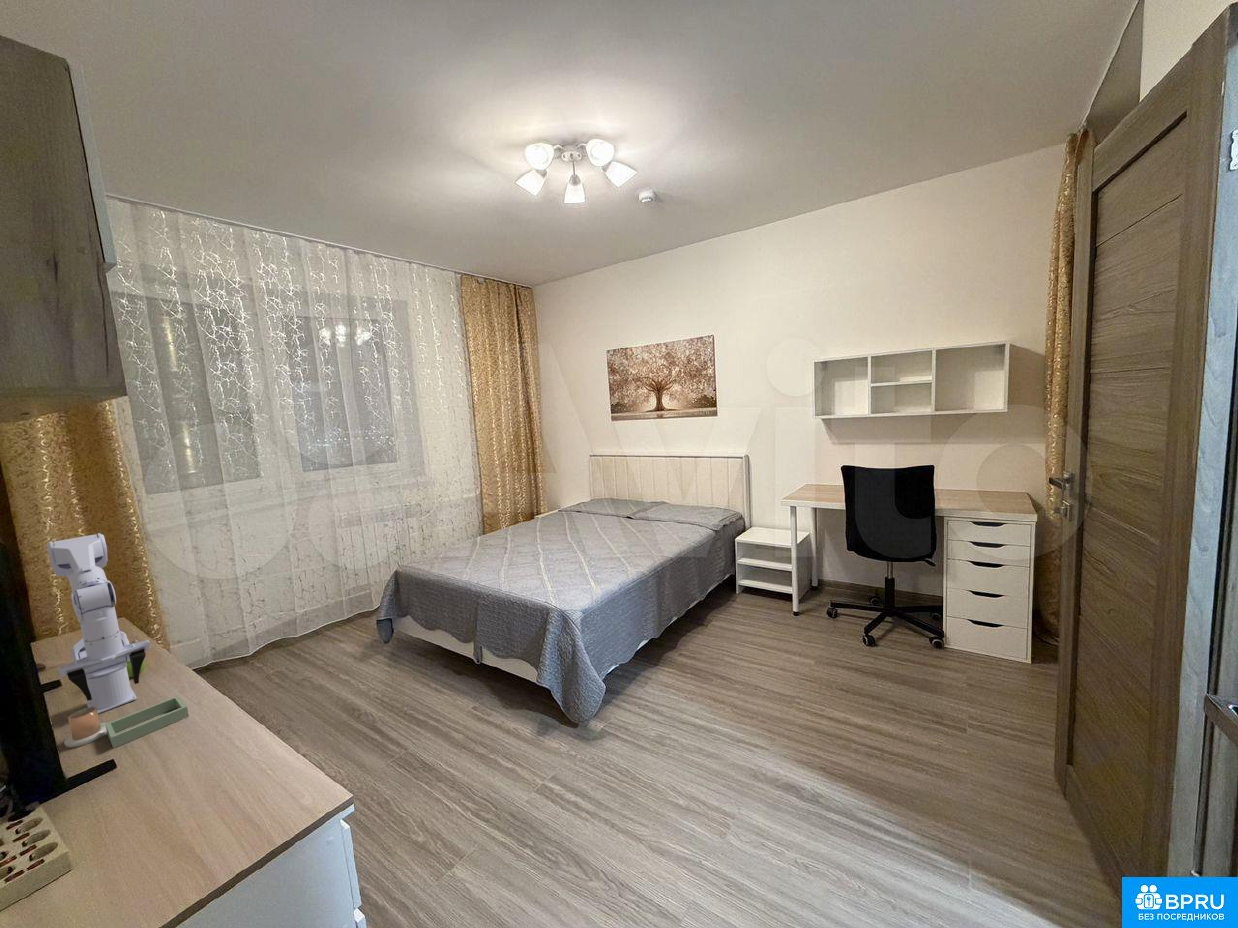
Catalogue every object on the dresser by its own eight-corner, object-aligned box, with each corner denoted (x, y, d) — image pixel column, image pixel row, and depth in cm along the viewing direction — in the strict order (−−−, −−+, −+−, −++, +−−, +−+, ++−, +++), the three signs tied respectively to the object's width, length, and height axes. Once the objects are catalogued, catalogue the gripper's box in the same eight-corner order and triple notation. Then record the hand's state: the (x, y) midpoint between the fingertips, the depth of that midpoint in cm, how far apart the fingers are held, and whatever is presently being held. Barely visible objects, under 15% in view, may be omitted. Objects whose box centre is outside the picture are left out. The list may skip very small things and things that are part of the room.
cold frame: (107, 734, 109) (105, 724, 109) (180, 704, 119) (178, 695, 119) (113, 748, 104) (111, 737, 104) (188, 716, 114) (187, 706, 114)
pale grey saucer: (63, 740, 108) (62, 736, 108) (108, 722, 113) (107, 718, 113) (66, 752, 104) (65, 747, 104) (112, 733, 109) (112, 729, 109)
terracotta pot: (70, 736, 108) (66, 715, 107) (98, 724, 111) (94, 704, 111) (74, 742, 105) (70, 721, 105) (103, 730, 109) (99, 709, 108)
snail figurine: (132, 681, 132) (124, 641, 130) (114, 680, 133) (106, 640, 132) (154, 671, 137) (147, 631, 136) (137, 670, 138) (129, 631, 137)
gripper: (54, 654, 102) (68, 712, 104) (148, 627, 113) (158, 680, 115) (53, 646, 107) (65, 702, 108) (143, 620, 118) (153, 671, 119)
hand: (113, 690), depth 112 cm, fingers open, 7 cm apart
